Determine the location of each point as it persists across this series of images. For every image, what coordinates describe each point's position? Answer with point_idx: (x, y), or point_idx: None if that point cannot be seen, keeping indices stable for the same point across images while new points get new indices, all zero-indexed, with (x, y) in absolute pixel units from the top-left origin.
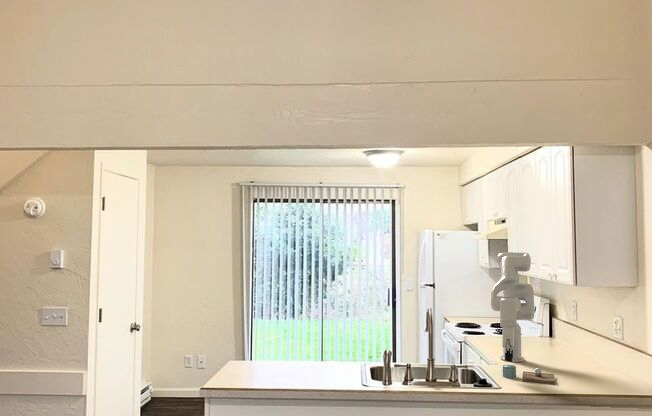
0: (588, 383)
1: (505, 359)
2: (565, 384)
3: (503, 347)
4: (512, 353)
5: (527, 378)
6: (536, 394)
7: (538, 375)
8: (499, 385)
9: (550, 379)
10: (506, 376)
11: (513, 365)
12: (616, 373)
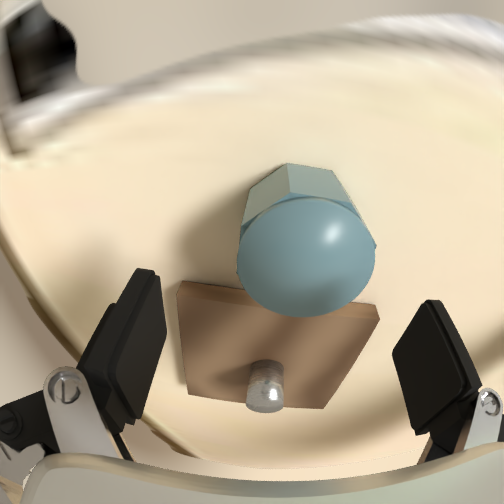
0: (261, 435)
1: (131, 287)
2: (221, 403)
3: (55, 456)
4: (404, 397)
5: (183, 318)
6: (26, 291)
7: (249, 373)
8: (45, 142)
9: (214, 390)
10: (249, 193)
11: (340, 304)
12: (376, 457)
